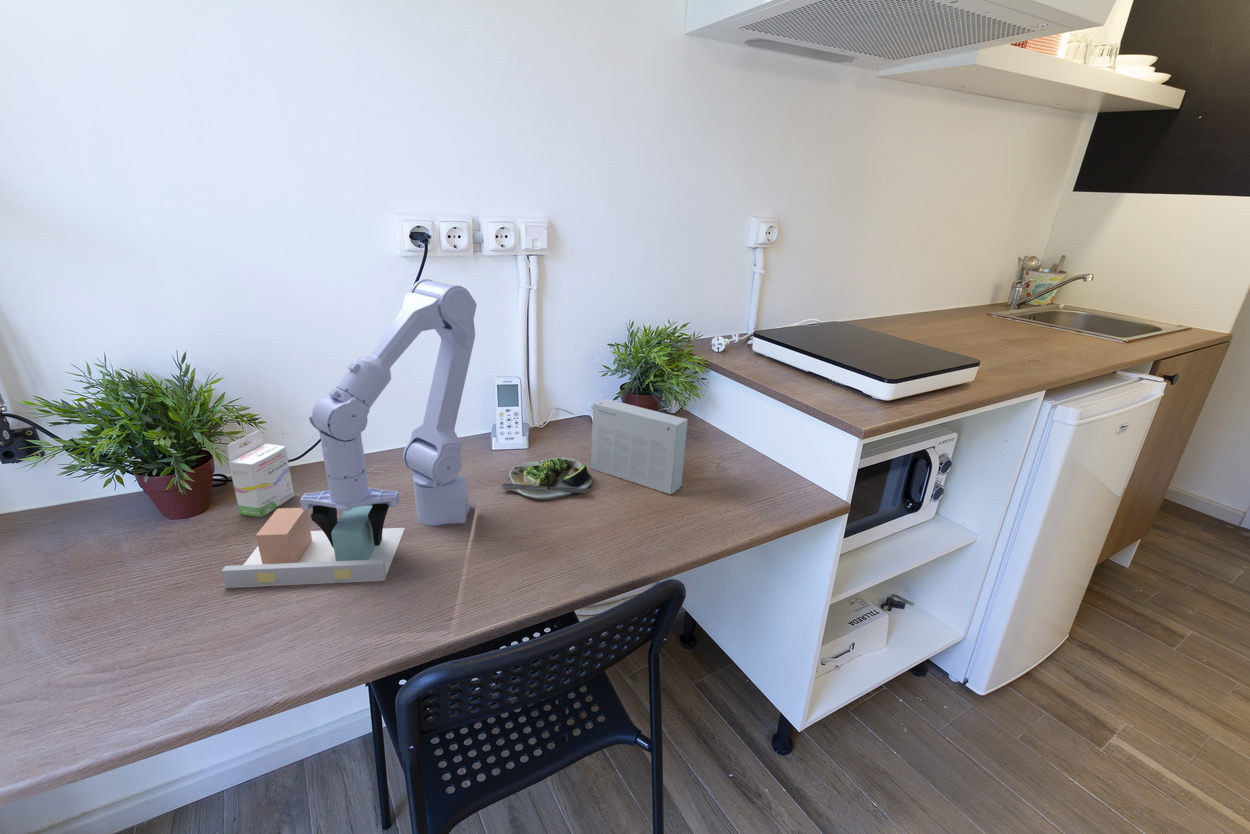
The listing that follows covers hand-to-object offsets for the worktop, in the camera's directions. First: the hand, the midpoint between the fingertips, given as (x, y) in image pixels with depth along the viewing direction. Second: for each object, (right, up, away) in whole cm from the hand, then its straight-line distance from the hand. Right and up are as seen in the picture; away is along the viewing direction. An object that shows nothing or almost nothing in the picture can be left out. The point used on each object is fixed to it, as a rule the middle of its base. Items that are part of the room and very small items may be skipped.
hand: (357, 543), depth 97 cm
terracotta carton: (-11, -2, -1) cm, 11 cm away
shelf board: (-6, -3, 0) cm, 6 cm away
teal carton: (0, -2, +1) cm, 2 cm away
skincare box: (+47, +7, +32) cm, 57 cm away
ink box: (-23, +3, +14) cm, 27 cm away
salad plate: (+29, +7, +29) cm, 42 cm away
